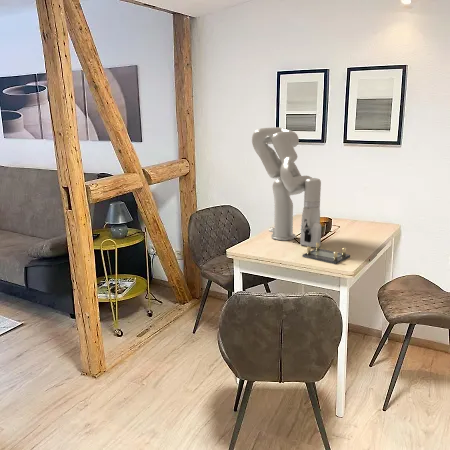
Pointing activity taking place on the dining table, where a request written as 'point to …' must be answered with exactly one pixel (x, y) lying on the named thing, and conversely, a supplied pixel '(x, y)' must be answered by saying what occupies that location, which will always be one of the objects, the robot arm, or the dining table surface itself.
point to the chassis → (326, 255)
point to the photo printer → (312, 236)
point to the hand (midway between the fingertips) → (310, 240)
